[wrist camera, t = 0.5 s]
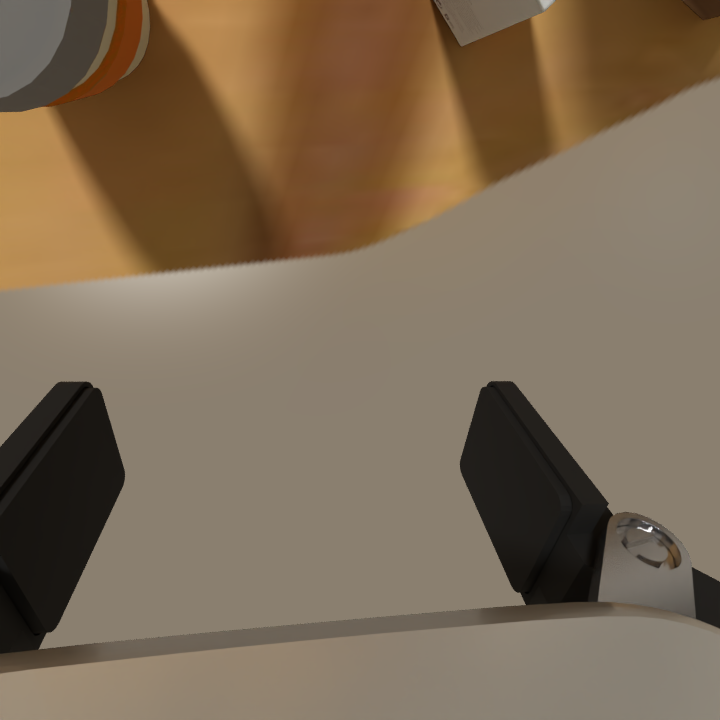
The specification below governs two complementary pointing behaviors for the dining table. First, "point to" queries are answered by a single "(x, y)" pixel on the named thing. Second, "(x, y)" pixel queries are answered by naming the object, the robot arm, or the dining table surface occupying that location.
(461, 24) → the skincare box
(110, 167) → the dining table surface
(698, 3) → the socket
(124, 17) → the reusable coffee cup
